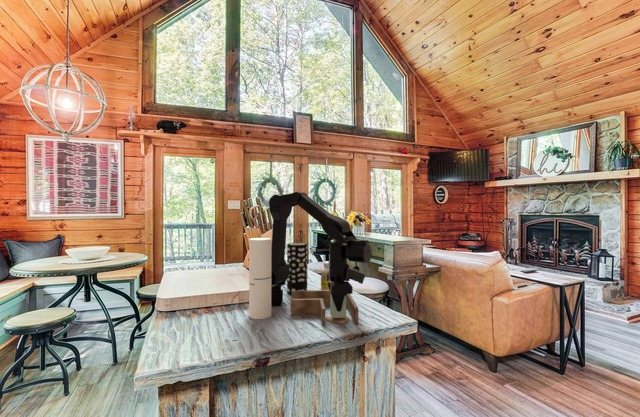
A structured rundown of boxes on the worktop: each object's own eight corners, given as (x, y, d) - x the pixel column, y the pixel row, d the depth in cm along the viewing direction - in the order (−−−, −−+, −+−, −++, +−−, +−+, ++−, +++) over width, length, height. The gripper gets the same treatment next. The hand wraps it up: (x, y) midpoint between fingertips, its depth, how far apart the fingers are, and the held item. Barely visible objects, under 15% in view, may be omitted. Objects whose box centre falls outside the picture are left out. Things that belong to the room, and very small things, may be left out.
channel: (290, 326, 94) (290, 309, 94) (291, 304, 114) (291, 290, 114) (358, 324, 95) (358, 308, 95) (347, 303, 116) (347, 289, 115)
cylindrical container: (266, 319, 99) (266, 240, 98) (245, 318, 100) (245, 239, 100) (274, 312, 106) (274, 238, 105) (254, 310, 107) (254, 237, 107)
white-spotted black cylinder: (283, 294, 127) (284, 244, 127) (291, 289, 135) (291, 242, 135) (303, 296, 125) (303, 245, 124) (310, 290, 132) (310, 243, 132)
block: (346, 317, 98) (346, 291, 98) (331, 317, 97) (331, 292, 97) (344, 312, 102) (344, 288, 102) (330, 312, 102) (330, 288, 102)
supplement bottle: (318, 292, 130) (318, 261, 130) (332, 290, 133) (333, 260, 133) (325, 296, 124) (325, 264, 124) (340, 294, 127) (340, 262, 127)
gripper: (370, 265, 91) (369, 319, 91) (357, 254, 109) (357, 299, 110) (331, 265, 90) (331, 319, 90) (326, 255, 109) (325, 300, 109)
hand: (337, 308), depth 100 cm, fingers closed on block, 4 cm apart
